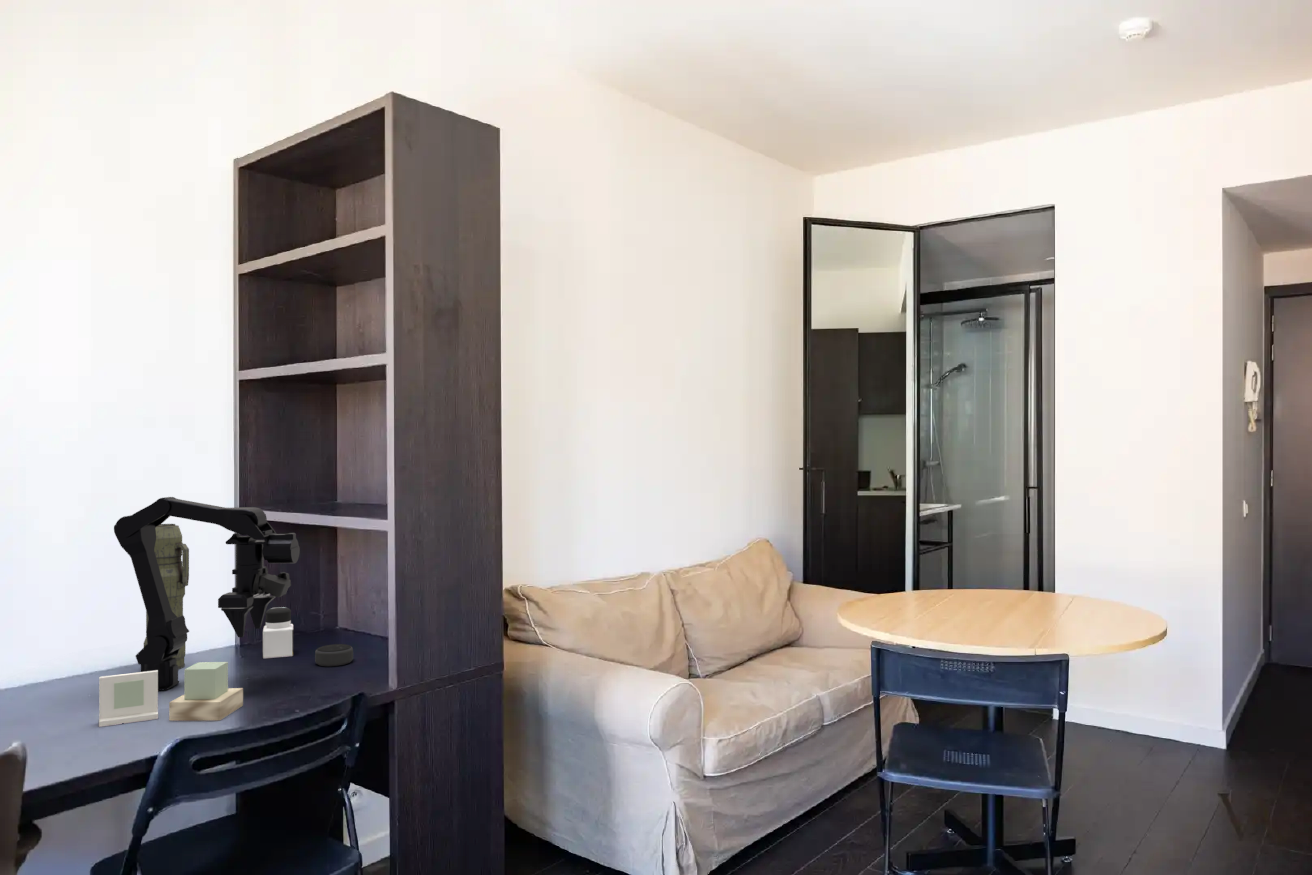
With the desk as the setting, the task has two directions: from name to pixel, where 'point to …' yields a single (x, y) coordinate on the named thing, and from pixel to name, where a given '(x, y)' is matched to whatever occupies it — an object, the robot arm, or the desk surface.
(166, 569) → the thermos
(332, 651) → the smart speaker
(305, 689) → the desk surface
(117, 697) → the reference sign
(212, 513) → the robot arm
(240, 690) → the birch block
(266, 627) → the medicine bottle
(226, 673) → the sage cube
